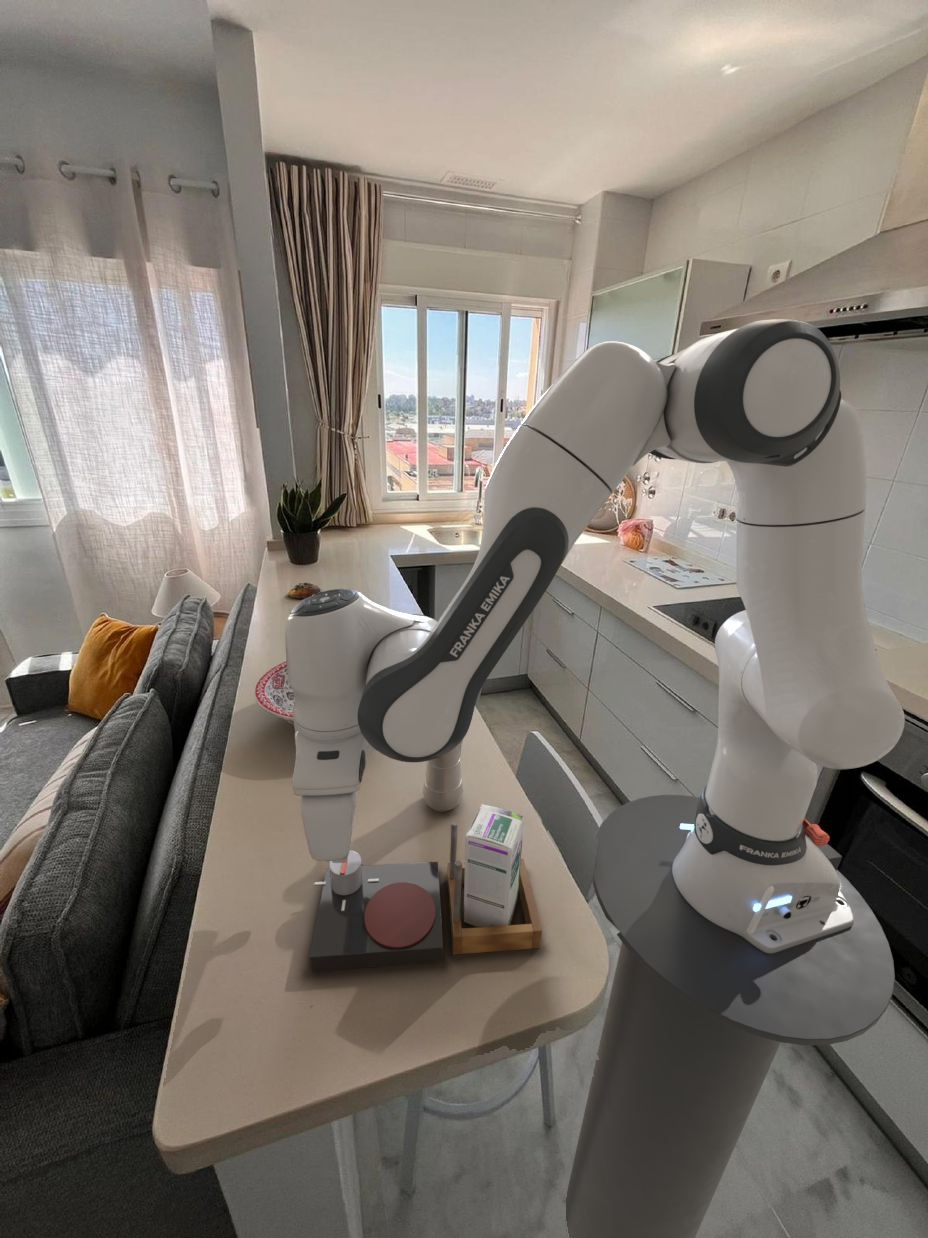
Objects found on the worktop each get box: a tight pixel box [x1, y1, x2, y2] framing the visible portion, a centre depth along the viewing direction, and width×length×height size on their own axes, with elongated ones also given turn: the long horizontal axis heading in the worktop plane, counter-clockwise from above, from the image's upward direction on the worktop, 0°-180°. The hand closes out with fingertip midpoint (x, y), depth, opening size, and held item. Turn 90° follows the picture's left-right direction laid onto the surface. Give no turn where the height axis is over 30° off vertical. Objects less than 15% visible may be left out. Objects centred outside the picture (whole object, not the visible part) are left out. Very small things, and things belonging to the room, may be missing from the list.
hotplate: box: [364, 882, 435, 949], centre depth 60 cm, size 9×9×1 cm
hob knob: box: [328, 849, 363, 895], centre depth 64 cm, size 4×4×4 cm
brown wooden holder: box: [446, 820, 543, 955], centre depth 62 cm, size 10×10×12 cm
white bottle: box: [422, 739, 464, 812], centre depth 78 cm, size 6×7×20 cm
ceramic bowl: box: [253, 660, 295, 727], centre depth 104 cm, size 29×29×8 cm
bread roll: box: [287, 582, 322, 599], centre depth 176 cm, size 11×11×5 cm
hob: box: [308, 861, 444, 973], centre depth 63 cm, size 16×14×3 cm
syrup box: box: [463, 803, 525, 928], centre depth 61 cm, size 6×6×14 cm
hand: (345, 826), depth 61 cm, fingers open, 8 cm apart
